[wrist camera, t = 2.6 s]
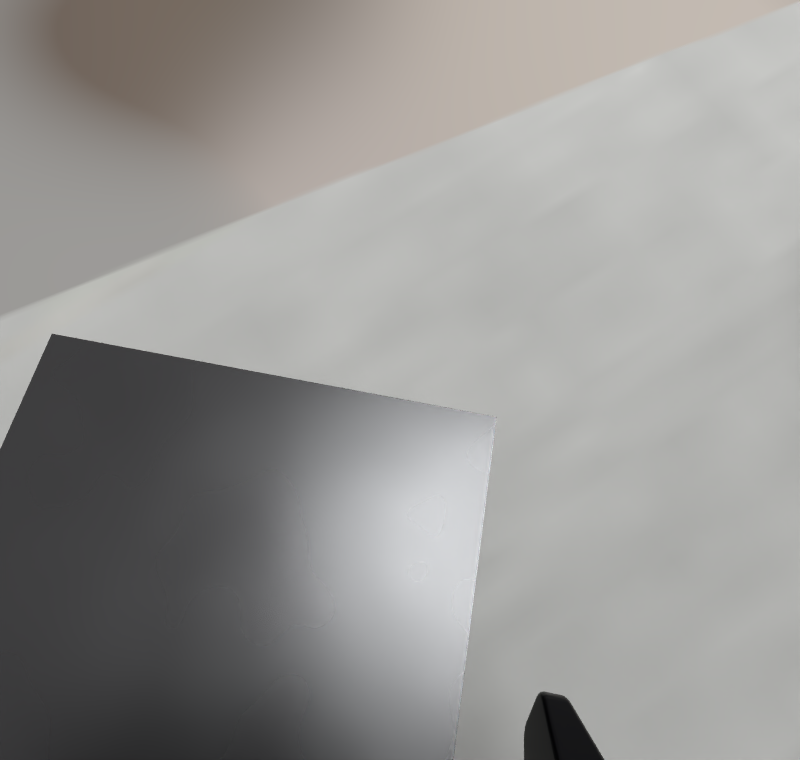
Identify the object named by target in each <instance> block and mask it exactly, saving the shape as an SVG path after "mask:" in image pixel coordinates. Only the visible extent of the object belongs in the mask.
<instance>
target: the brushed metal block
mask: <svg viewBox="0 0 800 760" xmlns="http://www.w3.org/2000/svg"><path fill="white" fill-rule="evenodd" d="M496 418H497V417H495V416H489V415H484V414H479V413H473V412H468V411H463V410H457V409H452V408H446V407H441V406H436V405H430V404H425V403H420V402H414V401H409V400H404V399H398V398H393V397H388V396H382V395H377V394H372V393H366V392H361V391H355V390H350V389H345V388H339V387H334V386H329V385H323V384H318V383H313V382H307V381H302V380H297V379H291V378H286V377H281V376H275V375H270V374H264V373H259V372H254V371H248V370H243V369H238V368H232V367H227V366H222V365H216V364H211V363H206V362H200V361H195V360H190V359H184V358H179V357H173V356H168V355H163V354H157V353H152V352H147V351H141V350H136V349H131V348H125V347H120V346H115V345H109V344H104V343H98V342H93V341H88V340H82V339H77V338H72V337H66V336H61V335H56V334H52V335H51V337H50V339H49V342H48V344H47V346H46V348H45V350H44V353H43V355H42V357H41V359H40V362H39V364H38V366H37V368H36V371H35V373H34V375H33V377H32V380H31V382H30V384H29V386H28V388H27V391H26V393H25V395H24V397H23V400H22V402H21V404H20V406H19V409H18V411H17V413H16V415H15V418H14V420H13V422H12V424H11V426H10V429H9V431H8V433H7V435H6V438H5V440H4V442H3V444H2V447H1V449H0V760H453V758H454V750H455V742H456V734H457V726H458V719H459V711H460V703H461V695H462V687H463V679H464V671H465V663H466V655H467V647H468V640H469V632H470V624H471V616H472V608H473V600H474V592H475V584H476V576H477V568H478V561H479V553H480V545H481V537H482V529H483V521H484V513H485V505H486V497H487V489H488V482H489V474H490V466H491V458H492V450H493V442H494V434H495V426H496Z"/></svg>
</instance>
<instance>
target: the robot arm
mask: <svg viewBox="0 0 800 760" xmlns="http://www.w3.org/2000/svg"><path fill="white" fill-rule="evenodd" d="M524 760H604V758H603V757H602V755H601V753H600V752H599V750H598V748H597V747H596V745H595V743H594V742H593V740H592V738H591V737H590V735H589V733H588V732H587V730H586V728H585V726H584V725H583V723H582V721H581V720H580V718H579V716H578V715H577V713H576V711H575V710H574V708H573V706H572V705H571V703H570V701H569V700H568V699H567V698H566V697H565V696H562V695H558V694H553V693H548V692H540V693H539V694H538V696H537V697H536V700H535V702H534V705H533V707H532V710H531V712H530V715H529V717H528V720H527V722H526V726H525V732H524Z"/></svg>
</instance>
